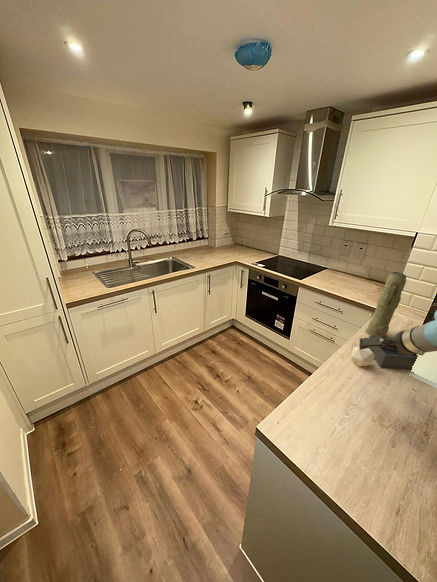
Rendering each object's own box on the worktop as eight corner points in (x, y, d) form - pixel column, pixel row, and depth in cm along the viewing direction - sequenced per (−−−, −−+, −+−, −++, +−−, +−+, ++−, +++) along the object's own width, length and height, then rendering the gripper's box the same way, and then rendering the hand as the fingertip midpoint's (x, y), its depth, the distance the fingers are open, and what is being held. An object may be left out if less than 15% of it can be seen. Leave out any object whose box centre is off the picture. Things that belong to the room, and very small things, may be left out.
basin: (393, 348, 117) (398, 337, 114) (413, 369, 104) (419, 357, 101) (364, 346, 117) (369, 335, 114) (380, 367, 104) (385, 355, 102)
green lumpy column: (385, 330, 131) (409, 272, 116) (385, 341, 122) (411, 279, 107) (367, 325, 135) (388, 268, 120) (366, 335, 126) (388, 275, 111)
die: (358, 355, 112) (350, 340, 109) (380, 356, 105) (371, 341, 102) (354, 369, 108) (345, 355, 105) (376, 372, 101) (367, 356, 98)
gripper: (369, 346, 72) (344, 352, 92) (464, 361, 68) (416, 365, 87) (369, 322, 75) (345, 334, 95) (460, 335, 70) (415, 345, 90)
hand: (379, 349), depth 91 cm, fingers open, 13 cm apart
